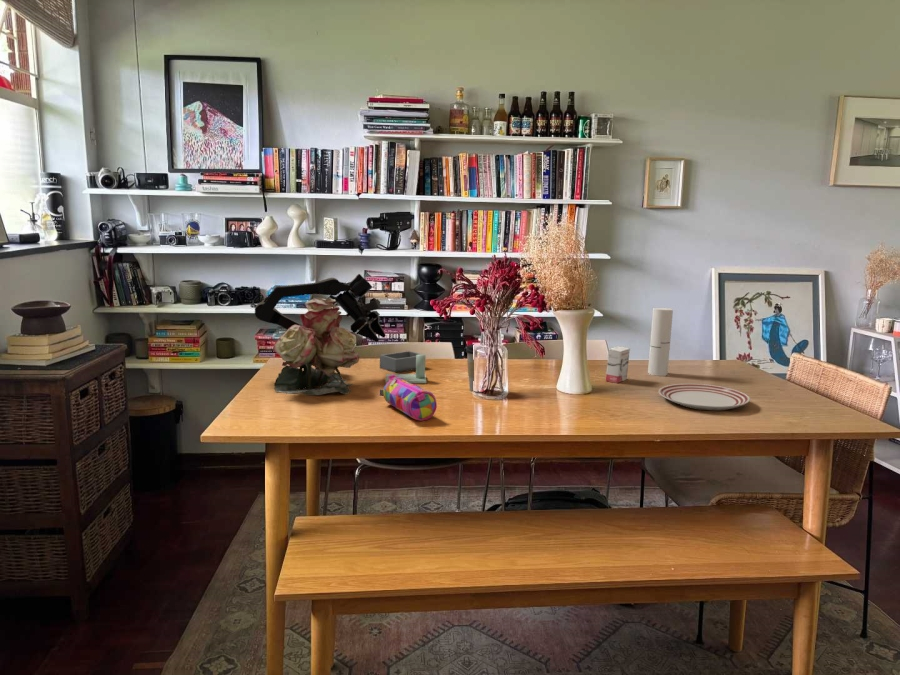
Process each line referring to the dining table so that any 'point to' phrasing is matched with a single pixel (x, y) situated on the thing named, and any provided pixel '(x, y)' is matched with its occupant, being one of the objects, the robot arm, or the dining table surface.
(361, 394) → the dining table surface
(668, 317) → the cylindrical container
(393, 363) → the parts tub
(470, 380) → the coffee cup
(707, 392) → the dinner plate
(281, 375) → the rose bouquet
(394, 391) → the pencil case
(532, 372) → the dining table surface
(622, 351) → the ink box
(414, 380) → the pale green stand
